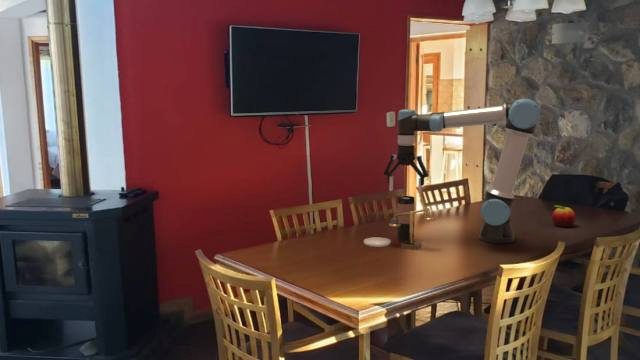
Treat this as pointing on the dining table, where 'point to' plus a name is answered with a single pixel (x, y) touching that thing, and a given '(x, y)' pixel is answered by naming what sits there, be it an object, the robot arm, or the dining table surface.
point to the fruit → (563, 216)
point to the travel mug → (405, 217)
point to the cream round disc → (377, 242)
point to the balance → (411, 243)
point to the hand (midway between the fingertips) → (405, 191)
